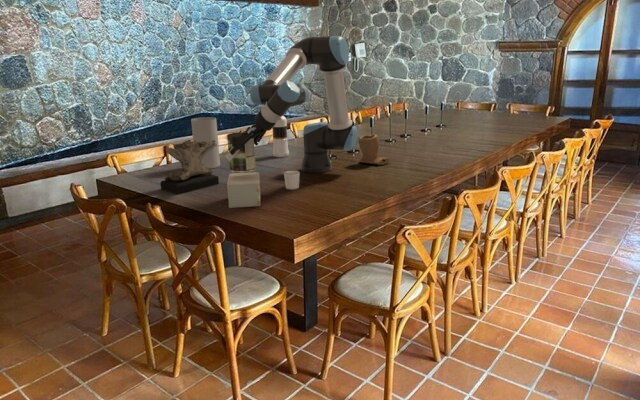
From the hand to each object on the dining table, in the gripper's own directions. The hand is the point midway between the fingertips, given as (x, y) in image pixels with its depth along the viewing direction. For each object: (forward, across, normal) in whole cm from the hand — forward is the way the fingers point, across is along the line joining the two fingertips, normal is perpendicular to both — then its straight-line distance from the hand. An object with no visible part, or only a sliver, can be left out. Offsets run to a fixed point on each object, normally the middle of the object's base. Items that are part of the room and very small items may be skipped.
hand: (235, 156), depth 197 cm
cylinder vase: (+48, +48, +22) cm, 72 cm away
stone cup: (-9, +80, -35) cm, 88 cm away
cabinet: (+11, 0, -15) cm, 19 cm away
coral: (+34, +12, +8) cm, 37 cm away
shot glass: (+5, +25, -21) cm, 33 cm away
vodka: (+30, +84, +4) cm, 89 cm away
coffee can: (+2, 0, -6) cm, 6 cm away
